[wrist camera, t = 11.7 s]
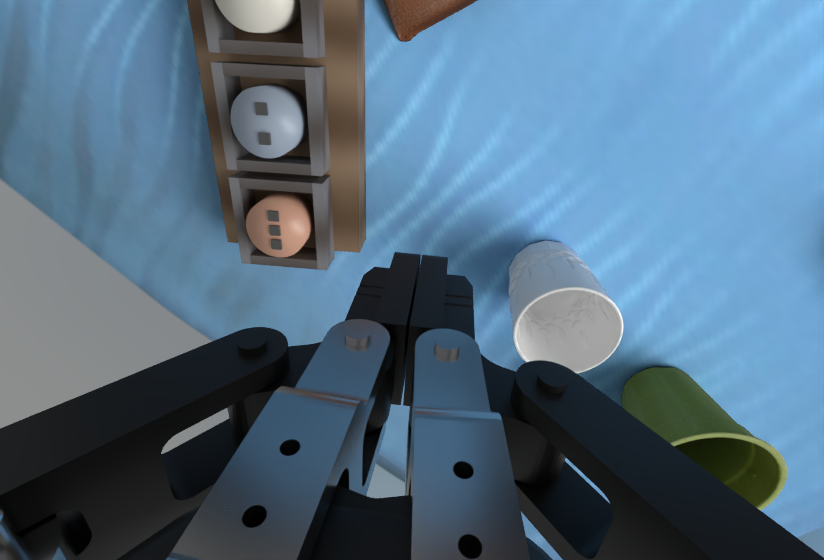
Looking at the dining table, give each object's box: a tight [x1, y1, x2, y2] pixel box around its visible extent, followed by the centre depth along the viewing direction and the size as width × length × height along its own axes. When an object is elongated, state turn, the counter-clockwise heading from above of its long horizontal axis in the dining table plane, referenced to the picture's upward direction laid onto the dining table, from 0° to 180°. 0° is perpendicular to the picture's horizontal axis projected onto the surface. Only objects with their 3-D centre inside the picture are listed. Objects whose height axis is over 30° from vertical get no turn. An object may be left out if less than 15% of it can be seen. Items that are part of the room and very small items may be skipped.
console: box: [187, 0, 366, 270], centre depth 34 cm, size 23×12×6 cm, turn 177°
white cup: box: [509, 240, 623, 373], centre depth 37 cm, size 8×8×10 cm
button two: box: [230, 83, 309, 158], centre depth 32 cm, size 5×5×3 cm
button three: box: [246, 191, 315, 257], centre depth 36 cm, size 5×5×3 cm
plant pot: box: [621, 367, 787, 510], centre depth 42 cm, size 12×12×11 cm
